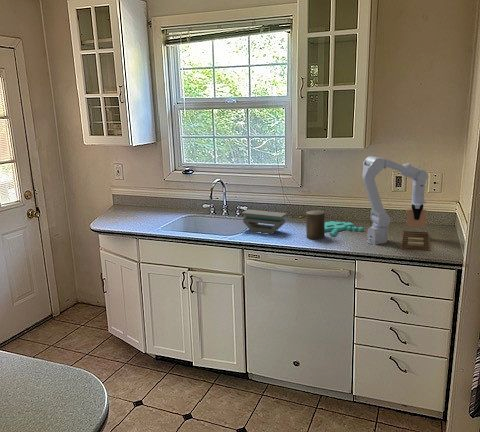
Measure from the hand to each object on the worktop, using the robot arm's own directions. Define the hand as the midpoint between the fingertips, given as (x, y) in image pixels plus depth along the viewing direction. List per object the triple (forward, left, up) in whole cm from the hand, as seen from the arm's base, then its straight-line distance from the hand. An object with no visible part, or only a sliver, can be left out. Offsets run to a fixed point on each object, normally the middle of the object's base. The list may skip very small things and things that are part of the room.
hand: (416, 219), depth 227 cm
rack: (-5, -5, -10) cm, 13 cm away
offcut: (-8, -8, -10) cm, 14 cm away
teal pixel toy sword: (-23, +35, -11) cm, 43 cm away
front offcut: (-12, -12, -10) cm, 20 cm away
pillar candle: (-41, +30, -11) cm, 52 cm away
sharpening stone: (-60, +53, -11) cm, 81 cm away
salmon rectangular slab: (0, 0, -3) cm, 4 cm away
